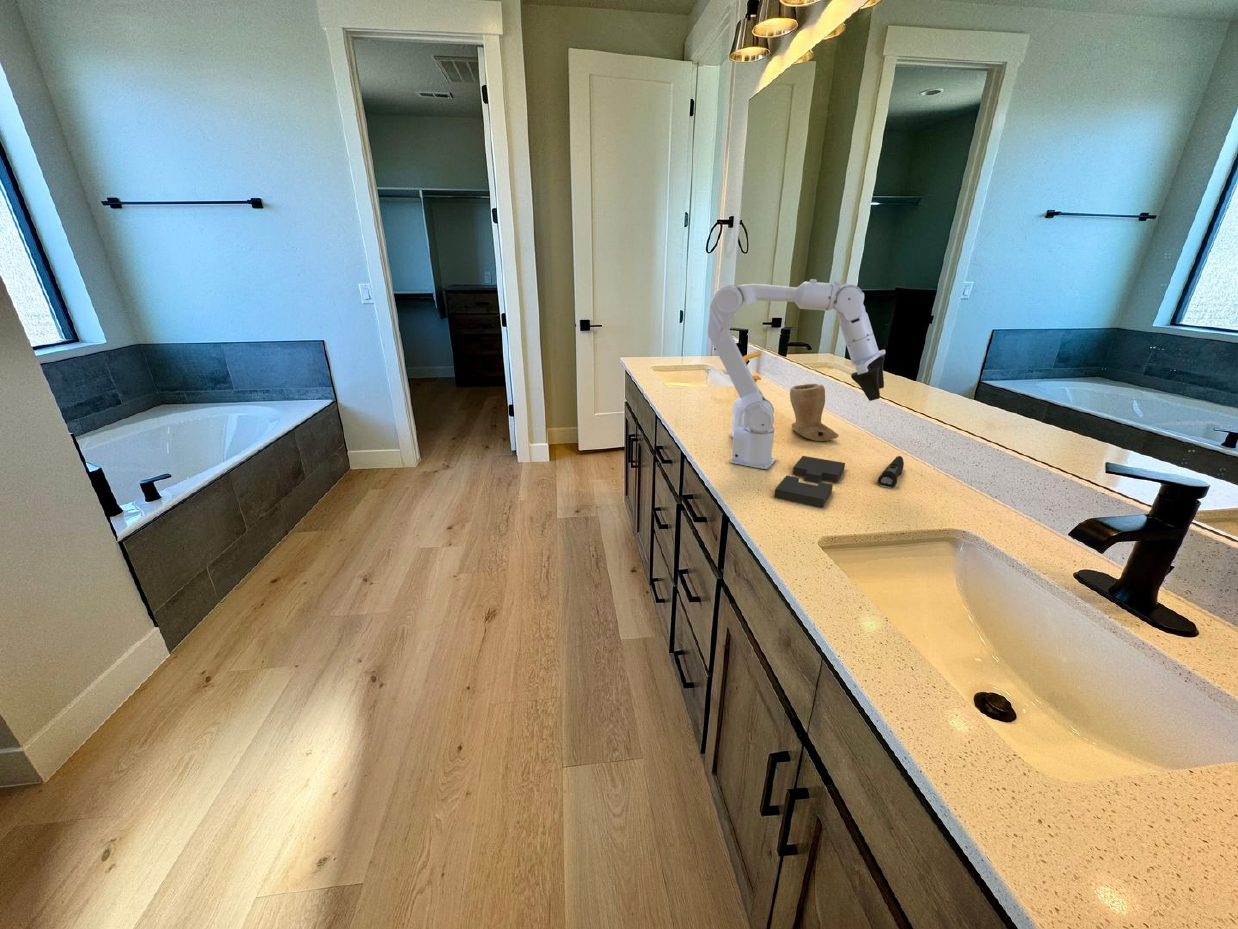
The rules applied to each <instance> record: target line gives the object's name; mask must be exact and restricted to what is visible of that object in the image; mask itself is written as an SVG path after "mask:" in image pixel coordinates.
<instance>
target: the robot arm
mask: <svg viewBox="0 0 1238 929" xmlns="http://www.w3.org/2000/svg"><path fill="white" fill-rule="evenodd" d="M758 301H764V302H765V301H766V302H784V303H785V302H789V303H795V305H796V306H797V307H798V309H801V310H815V311H825V312H826V311H827V312H829V311H831V310H833V309H834V310H835V311H837V316H838V320H839V327H840V329H841V332H842V337H843V339H844V342H845V345H846V348H847V351H848V354H849V358H850V365H852V366H853V367H855V372H851V374H850V378H851V379H852V381H854V382H855V383H856V384H857V385H858V386H859V388H860V389H861V390H862V391H863V393H864V395H865V396H866V398H867V399H868V401H869V402H872V401H876V400H880V399H881V391H880V390H881V389H884V388H885V378H884V361H885V357H886V356H885V355H886V349H881V350H879V347H878V345H877V341H876V337H875V335H874V331H873V328H872V324H871V321H870V318H869V314H868V313H867V312H866V306H865V305H864V301H865V292H863V291H862V289H861V288H860V287H859V286H858V285H854V284H850V283H846V282H845V283H841V281H837V280H834V282H833V283H832V282H818V281H817V279H814V278H810V280H809V281H803V282H802V283H801V284H799V285H798V286H797V287H796V286H795V287H794V286H784V285H775V284H774V285H773V284H763V283H746V284H738V285H733V284H730V285H726V286H723V287H721V288H719V289H718V290H717V291H716V292H715V294H714V296H713V298H712V300H711V303H710V305H709V314H708V316H709V317H708V324H707V326H708V327H707V336H708V337H709V339H710V341H711V343H712V345H713V348H714V350H715V351H716V353H717V355H718V357H719V359H720V361H721V363H722V365H723V366H724V368H725V370H726V372H727V375H728V376H729V379H730V380H731V382H732V384H733V386H734V388H735V390H736V392H737V394H738V396H739V397H740V398H741V400H742V404H743V407H744V410H745V412H746V414H747V424H745V427H743V426H738V427H737V428H736V430H735V433H734V437H732V447H731V448H732V450H731V459H730V463H731V464H735V465H740V466H744V467H745V466H746V467H751V468H754V469H755V468H756V469H762V470H768V469H769V468H770V467H771V466H772V465H773V464H774V463H775V462H776V461H777V458H776V457H772V456H773V448H774V436H775V426H774V423H775V416H774V412H775V410H774V405H773V404H772V402H771V401H769V400H768V399H766V398H765V396H764V394H763V393H762V391H761V389H760V388H759V387H758V384H757V382H755V381H754V379H753V377H752V376H753V374H752V373H751V370H750V369H749V367H748V365H747V362H746V363H745V361H744V359H743V357H744V356H743V355H742V353H741V351H740V349H739V347H738V345H737V343H736V341H735V339H734V337H733V335H732V333H731V331H730V330H731V327H732V325H733V321H734V319H735V316H736V314H737V313H738V312H739V311H740V309H741V308H742V306H743V304H744V306H745V307H747V306H749V305H752V304H754V303H755V302H758Z"/></svg>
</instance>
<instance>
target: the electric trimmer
mask: <svg viewBox="0 0 1238 929" xmlns="http://www.w3.org/2000/svg"><path fill="white" fill-rule="evenodd" d="M904 466H905V462H904V458H903V456H901V455H898V456H896V457H895V458H894V459H893V460H892V461H891V462H890V463H889V464H888V466H887V467H886V468H885V469H884V470H883V471H882V472H881V474H879V477H878V479H877V484H878V486H879V487H882V488H883V487H884V488H888V489H891V488H895V487H896V486H897V484H898V483H897V482H898V477H899V476H902V474H903V471H904Z"/></svg>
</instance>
